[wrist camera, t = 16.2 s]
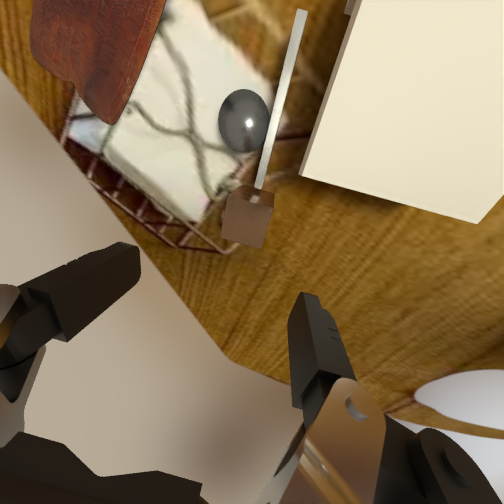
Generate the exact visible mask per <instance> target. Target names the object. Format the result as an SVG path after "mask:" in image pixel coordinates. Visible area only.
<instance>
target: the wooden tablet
mask: <svg viewBox="0 0 504 504" xmlns="http://www.w3.org/2000/svg"><path fill="white" fill-rule="evenodd" d="M165 2H166V0H33V7H32V18H31V25H30V47H31V53H32V55H33V56H34V58H35V59H36V61H37V62H38V63H39V64H40V65H41V66H42V67H43V68H45V69H46V70H48V71H49V72H50V73H52V74H53V75H55V76H56V77H58V78H60V79H61V80H65V81H72V82H73V83H74V85H75V87H76V89H77V92H78V94H79V96H80V97H81V99H82V100H83V102H84V103H85V104H86V105H87V106H88V107H89V109H90V110H91V111H92V112H93V113H94V114H95V115H96V116H97V117H98V118H100V119H101V120H102V121H103V122H105V123H107V124H109V125H110V124H115V123H116V122H117V119H118V118H119V116H120V114H121V112H122V110H123V109H124V106H125V105H126V102H127V101H128V99H129V96H130V94H131V91H132V89H133V87H134V85H135V82H136V81H137V79H138V76H139V73H140V71H141V69H142V66H143V64H144V61H145V58H146V56H147V53H148V50H149V47H150V44H151V42H152V39H153V37H154V34H155V31H156V28H157V26H158V23H159V21H160V18H161V14H162V11H163V8H164V5H165Z"/></svg>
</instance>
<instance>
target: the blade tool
mask: <svg viewBox="0 0 504 504" xmlns="http://www.w3.org/2000/svg"><path fill="white" fill-rule="evenodd" d="M307 14H308V11H304V10H301V9H297V13H296V17H295V21H294V25H293V29H292V34H291V38H290V42H289V46H288V50H287V54H286V58H285V62H284V66H283V71H282V75H281V79H280V83H279V87H278V91H277V95H276V99H275V103H274V108H273V112H272V116H271V120H270V124H269V128H268V132H267V136H266V140H265V144H264V149H263V153H262V157H261V161H260V165H259V169H258V173H257V177H256V181H255V186H254V187H255V188H253V187H249V186H246V185H242V186H241V187H239V188H238V189H236V190H235V191H233V192H232V193H230V194H229V195H228V197H227V202H226V208H225V213H224V219H223V224H222V230H221V235H220V238H223V239H227V240H230V241H234V242H237V243H241V244H244V245H248V246H251V247H255V248H258V249H261V247H262V244H263V241H264V238H265V235H266V231H267V228H268V225H269V222H270V218H271V215H272V212H273V209H274V193H271V192H267V191H264V190H260V189H262V187H263V184H264V181H265V177H266V173H267V169H268V165H269V162H270V158H271V154H272V150H273V147H274V143H275V139H276V135H277V132H278V128H279V124H280V120H281V116H282V113H283V109H284V105H285V101H286V98H287V94H288V90H289V86H290V83H291V79H292V75H293V71H294V67H295V64H296V60H297V56H298V52H299V49H300V45H301V41H302V37H303V33H304V28H305V23H306V18H307ZM256 188H259V189H256Z"/></svg>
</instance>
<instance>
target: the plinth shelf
mask: <svg viewBox="0 0 504 504" xmlns="http://www.w3.org/2000/svg"><path fill="white" fill-rule="evenodd" d="M343 14H347V15H350V16H351V18H350V21H349V24H348V27H347V30H346V33H345V36H344V39H343V42H342V45H341V48H340V51H339V54H338V57H337V60H336V63H335V66H334V69H333V72H332V75H331V78H330V80H329V83H328V86H327V89H326V92H325V95H324V98H323V101H322V104H321V107H320V110H319V113H318V116H317V119H316V122H315V125H314V128H313V131H312V134H311V137H310V140H309V143H308V146H307V149H306V152H305V155H304V158H303V161H302V164H301V167H300V170H299V173H298V174H299V175H301V176H304V177H308V178H311V179H315V180H319V181H322V182H326V183H329V184H333V185H337V186H340V187H344V188H348V189H351V190H355V191H359V192H362V193H366V194H369V195H373V196H377V197H380V198H384V199H388V200H391V201H395V202H399V203H402V204H406V205H409V206H413V207H417V208H420V209H424V210H428V211H431V212H435V213H439V214H442V215H446V216H449V217H453V218H457V219H460V220H464V221H468V222H471V223H475V224H478V223H479V222H480V221H481V220H482V218H483V217H484V216H485V215H486V214H487V213H488V212H489V210H490V209H491V208H492V207H493V206H494V205H495V204H496V202H497V201H498V200H499V199H500V198H501V197H502V196H503V194H504V0H348V1H347V4H346V7H345V10H344V13H343Z"/></svg>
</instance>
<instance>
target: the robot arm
mask: <svg viewBox="0 0 504 504" xmlns="http://www.w3.org/2000/svg"><path fill="white" fill-rule="evenodd" d="M140 275H141V265H140V250H139V248H138V247H137V246H134V245H131V244H127V243H123V242H117V243H115V244H113V245H111V246H109V247H107V248H105V249H101V250H97V251H94V252H90V253H88V254H86V255H83V256H81V257H79V258H78V259H77V260H76V259H75V260H73V261H71V262H69V263H67V265H62V266H60V267H58V268H56V269H54V270H51V271H49V272H47V273H45V274H43V275H41V276H39V277H37V278H34V279H32V280H30V281H28V282H26V283H24V284H22V285H19V286H17V287H16V286H13V285H8V284H0V504H209V503H208V502H207V501H205V500H204V499H203V498H202V497H201V496H200V492H201V487H202V483H199V482H195V481H192V480H188V479H185V478H181V477H178V476H174V475H171V474H167V473H164V472H160V471H149V472H141V473H133V474H125V475H116V476H107V477H100V476H97V475H96V474H94V473H93V472H92V471H91V470H90V469H89V468H88V467H87V466H86V465H85V464H84V463H83V462H82V461H81V460H80V459H79V458H78V457H76V455H75V454H74V453H73V452H71V451H70V450H69V449H68V448H67V447H66V446H65V445H64V444H62V443H59V442H55V441H51V440H48V439H44V438H41V437H38V436H34V435H31V434H27V433H24V408H25V405H26V402H27V399H28V397H29V394H30V391H31V389H32V386H33V383H34V381H35V378H36V375H37V373H38V370H39V368H40V365H41V362H42V360H43V357H44V354H45V352H46V346H45V344H46V343H47V342H48V341H50V340H51V339H52V338H53V339H57V340H60V341H64V342H68V341H69V340H71V339H72V338H73V337H74V336H75V335H77V334H78V333H79V332H80V331H81V330H82V329H84V328H85V327H86V326H87V325H89V324H90V323H91V322H92V321H93V320H94V319H96V318H97V317H98V316H99V315H100V314H101V313H103V312H104V311H105V310H106V309H107V308H109V307H110V306H111V305H112V304H113V303H114V302H116V301H117V300H118V299H119V298H120V297H121V296H123V295H124V294H125V293H126V292H127V291H129V290H130V289H131V288H132V287H133V286H134V285H136V283H137V282H138V281H139V279H140ZM288 344H289V360H290V377H291V391H292V392H291V393H292V406H293V407H295V408H299V409H302V410H303V417H304V421H303V422H302V423H301V425H300V427H299V428H298V430H297V432H296V434H295V435H294V437H293V439H292V441H291V442H290V444H289V446H288V448H287V450H286V451H285V453H284V455H283V457H282V458H281V460H280V462H279V463H278V465H277V467H276V469H275V470H274V472H273V474H272V476H271V477H270V479H269V481H268V482H267V484H266V485H265V487H264V488H263V490H262V491H261V493H260V494H259V496H258V497H257V499H256V501H255V502H254V504H502V502H501V500H500V499H499V497H498V496H497V494H496V493H495V491H494V489H493V488H492V486H491V485H490V483H489V482H488V480H487V479H486V477H485V475H484V474H483V473H482V471H481V470H480V468H479V467H478V466H477V464H476V463H475V462H474V461H473V459H472V458H471V457H470V456H469V455H468V454H467V453H466V452H465V451H464V450H463V449H462V448H461V447H460V446H459V445H458V444H457V443H456V442H454V441H453V440H452V439H451V438H450V437H448V436H447V435H445V434H444V433H442V432H440V431H438V430H436V429H432V428H425V429H423V430H421V431H420V432H419V433H417V434H416V433H414V432H413V431H411V430H409V429H408V428H406V427H405V426H403V425H401V424H400V423H398V422H396V421H395V420H393V419H392V418H390V417H388V416H387V415H385V414H384V413H383V412H382V410H381V408H380V406H379V404H378V403H377V401H376V400H375V398H374V397H373V396H372V394H371V393H370V392H369V391H368V390H367V389H366V388H365V387H363V386H362V385H361V384H359V383H358V382H357V380H356V378H355V375H354V372H353V369H352V367H351V364H350V361H349V359H348V356H347V353H346V350H345V348H344V345H343V342H341V337H340V334H339V332H338V328H337V326H336V323H335V320H334V319H333V317H332V316H331V315H330V313H329V312H328V311H327V310H326V309H322V307H321V304H320V301H319V298H318V296H316V295H312V294H308V293H305V292H300V294H299V296H298V298H297V300H296V302H295V304H294V306H293V309H292V311H291V313H290V315H289V319H288Z"/></svg>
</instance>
